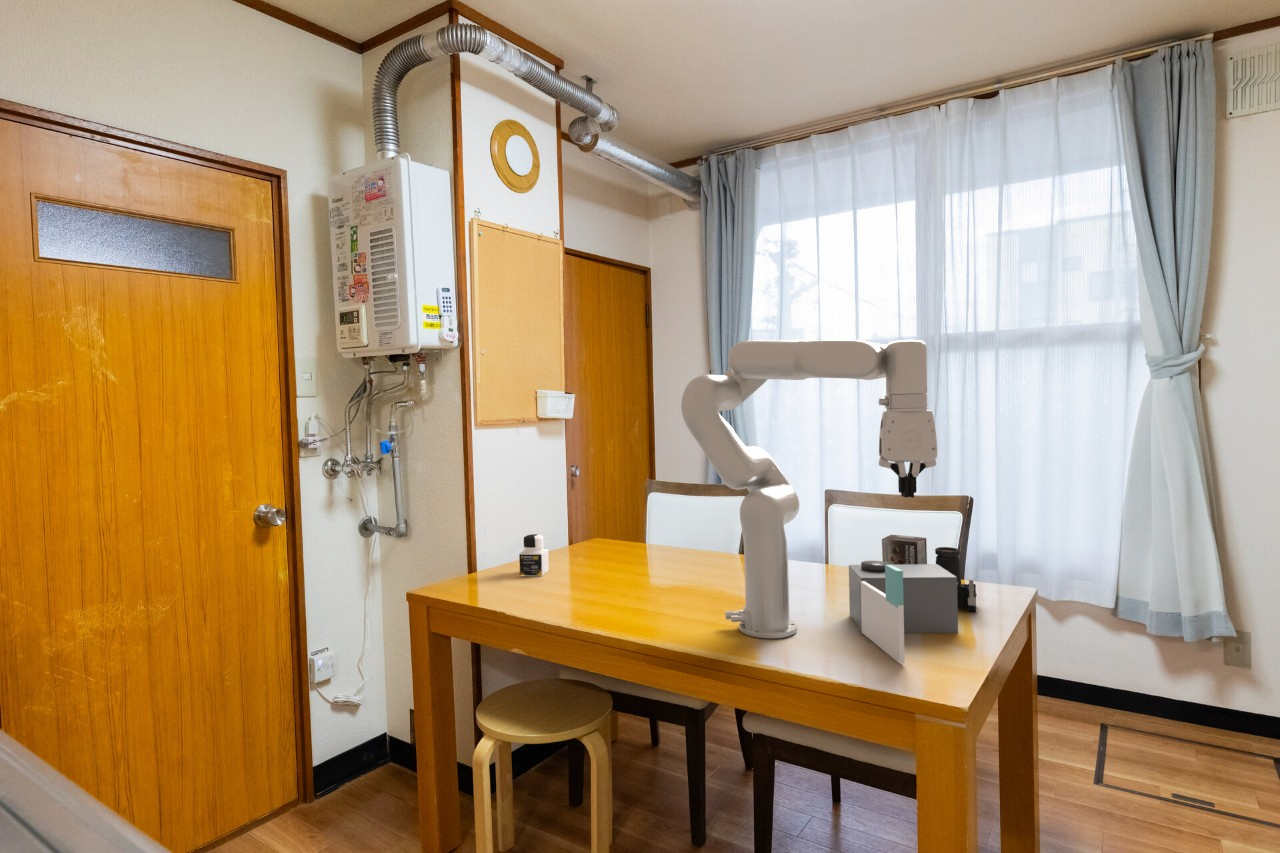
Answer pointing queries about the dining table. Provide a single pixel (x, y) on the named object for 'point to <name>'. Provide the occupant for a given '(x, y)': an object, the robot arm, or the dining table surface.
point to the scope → (951, 563)
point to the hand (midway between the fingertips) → (907, 496)
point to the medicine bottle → (534, 556)
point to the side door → (884, 613)
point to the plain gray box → (913, 595)
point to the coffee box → (904, 550)
